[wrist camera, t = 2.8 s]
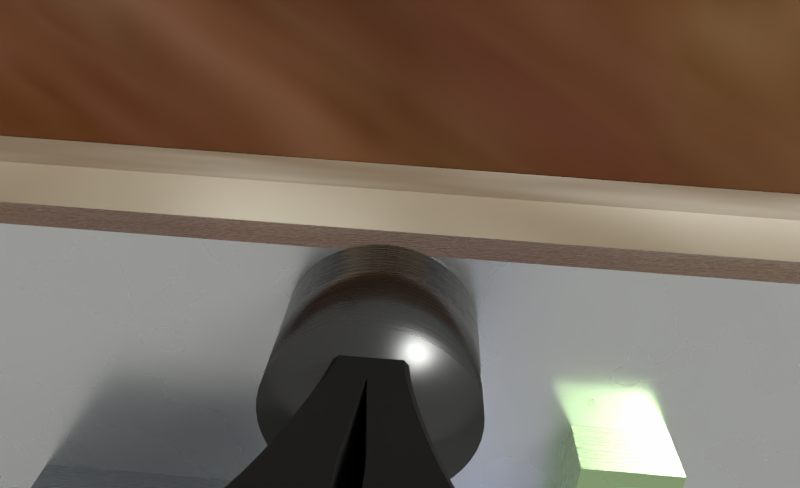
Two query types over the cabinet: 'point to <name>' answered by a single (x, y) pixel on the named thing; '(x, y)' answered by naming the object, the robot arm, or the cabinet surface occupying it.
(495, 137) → the cabinet surface
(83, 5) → the cabinet surface
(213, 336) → the leveling plate
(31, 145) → the leveling base
